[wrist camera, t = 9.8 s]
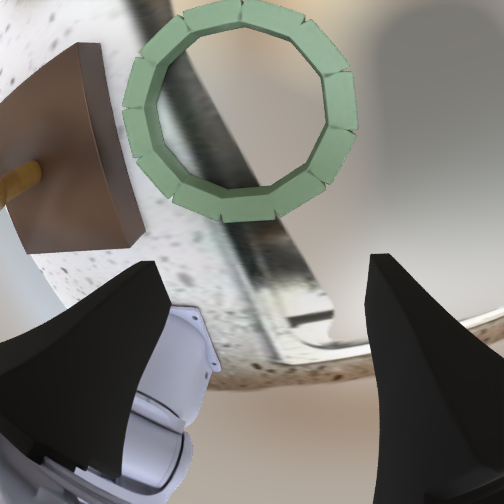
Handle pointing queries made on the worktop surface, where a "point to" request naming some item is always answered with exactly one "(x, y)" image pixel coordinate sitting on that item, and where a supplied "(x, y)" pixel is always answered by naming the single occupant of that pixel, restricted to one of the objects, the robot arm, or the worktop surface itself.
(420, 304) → the robot arm
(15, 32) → the worktop surface
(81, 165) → the peg stand
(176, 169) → the ring
